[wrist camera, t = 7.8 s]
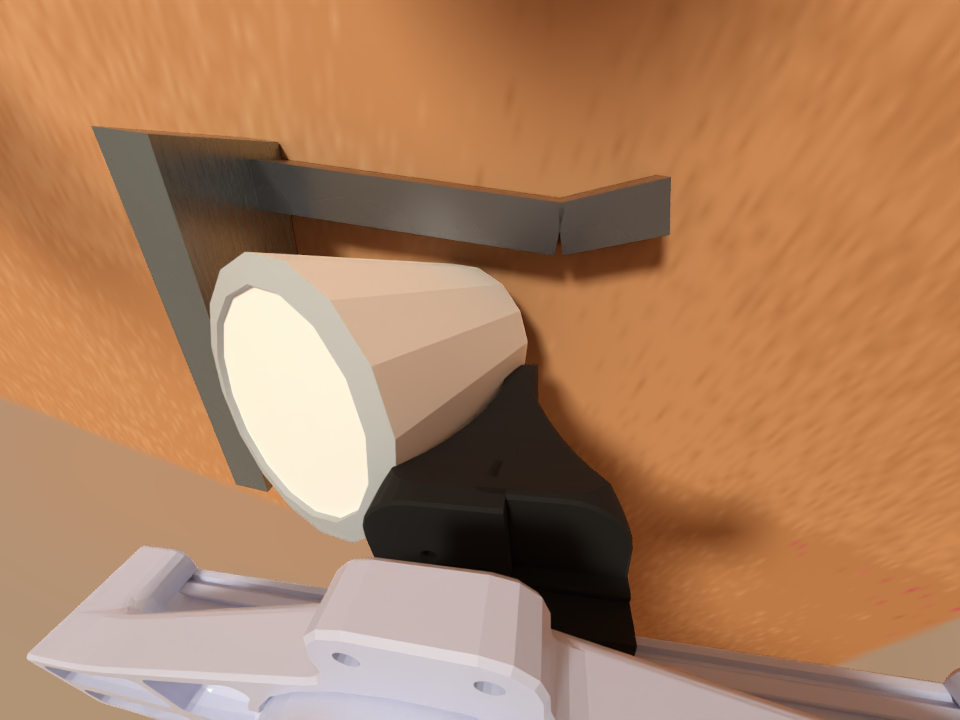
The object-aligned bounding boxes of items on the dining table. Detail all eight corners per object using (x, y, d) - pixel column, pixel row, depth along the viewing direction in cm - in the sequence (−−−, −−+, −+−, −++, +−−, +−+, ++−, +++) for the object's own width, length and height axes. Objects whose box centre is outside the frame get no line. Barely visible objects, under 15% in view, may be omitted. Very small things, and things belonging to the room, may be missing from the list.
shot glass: (438, 432, 15) (287, 542, 10) (374, 293, 15) (179, 325, 9) (576, 398, 11) (451, 553, 6) (493, 205, 11) (272, 171, 5)
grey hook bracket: (673, 177, 10) (745, 187, 6) (563, 481, 18) (567, 570, 14) (235, 120, 12) (81, 101, 8) (301, 424, 19) (238, 491, 15)
